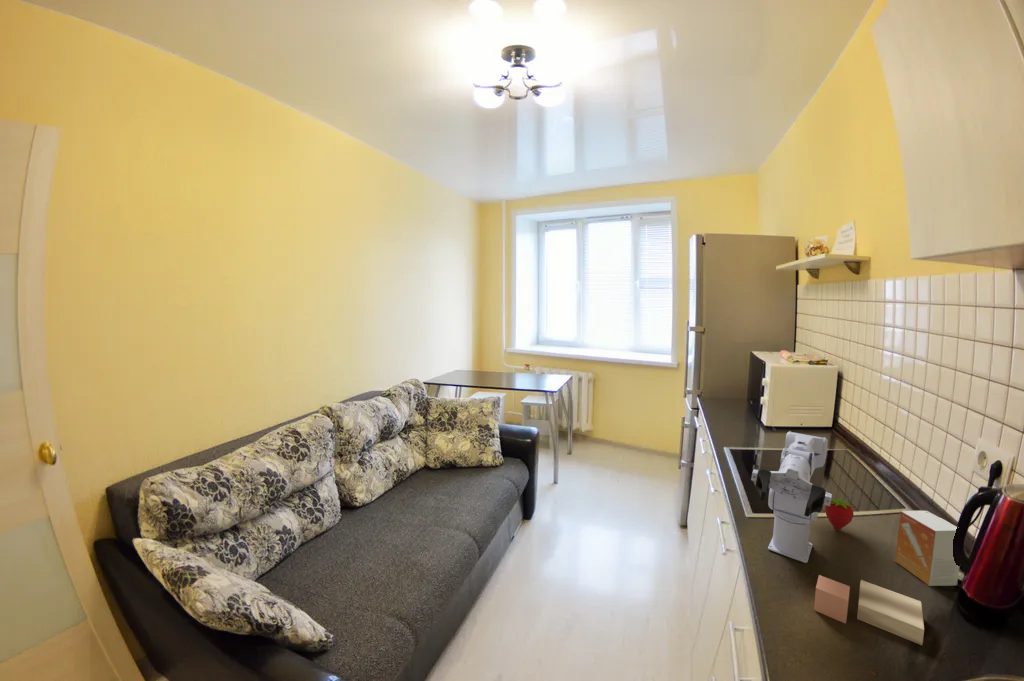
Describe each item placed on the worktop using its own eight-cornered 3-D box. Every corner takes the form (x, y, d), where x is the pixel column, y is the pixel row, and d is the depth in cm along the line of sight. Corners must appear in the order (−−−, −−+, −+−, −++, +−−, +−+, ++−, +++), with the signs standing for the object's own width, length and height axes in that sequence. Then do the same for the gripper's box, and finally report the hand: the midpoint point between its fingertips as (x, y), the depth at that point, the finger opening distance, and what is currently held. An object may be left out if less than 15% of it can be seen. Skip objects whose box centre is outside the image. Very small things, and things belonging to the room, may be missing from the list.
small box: (893, 561, 95) (899, 510, 93) (920, 561, 95) (926, 509, 93) (928, 586, 87) (935, 530, 85) (958, 586, 87) (965, 530, 85)
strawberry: (853, 528, 108) (857, 493, 107) (849, 541, 103) (853, 504, 102) (826, 520, 112) (829, 486, 111) (821, 531, 107) (824, 496, 106)
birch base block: (859, 594, 85) (860, 579, 85) (919, 617, 79) (921, 601, 79) (856, 620, 79) (858, 604, 78) (922, 647, 73) (924, 629, 72)
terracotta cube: (817, 596, 85) (818, 574, 84) (847, 609, 81) (850, 586, 81) (814, 610, 81) (815, 587, 80) (845, 624, 78) (848, 600, 77)
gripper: (759, 450, 96) (747, 473, 86) (835, 472, 87) (832, 501, 77) (754, 476, 98) (742, 502, 88) (829, 501, 89) (825, 532, 79)
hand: (784, 503), depth 83 cm, fingers open, 7 cm apart
